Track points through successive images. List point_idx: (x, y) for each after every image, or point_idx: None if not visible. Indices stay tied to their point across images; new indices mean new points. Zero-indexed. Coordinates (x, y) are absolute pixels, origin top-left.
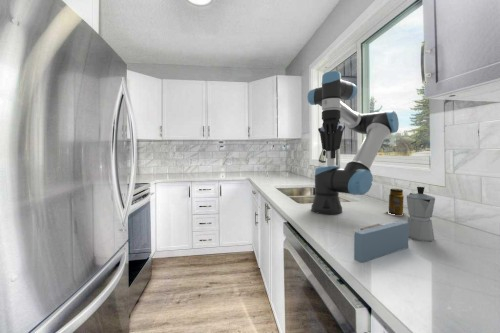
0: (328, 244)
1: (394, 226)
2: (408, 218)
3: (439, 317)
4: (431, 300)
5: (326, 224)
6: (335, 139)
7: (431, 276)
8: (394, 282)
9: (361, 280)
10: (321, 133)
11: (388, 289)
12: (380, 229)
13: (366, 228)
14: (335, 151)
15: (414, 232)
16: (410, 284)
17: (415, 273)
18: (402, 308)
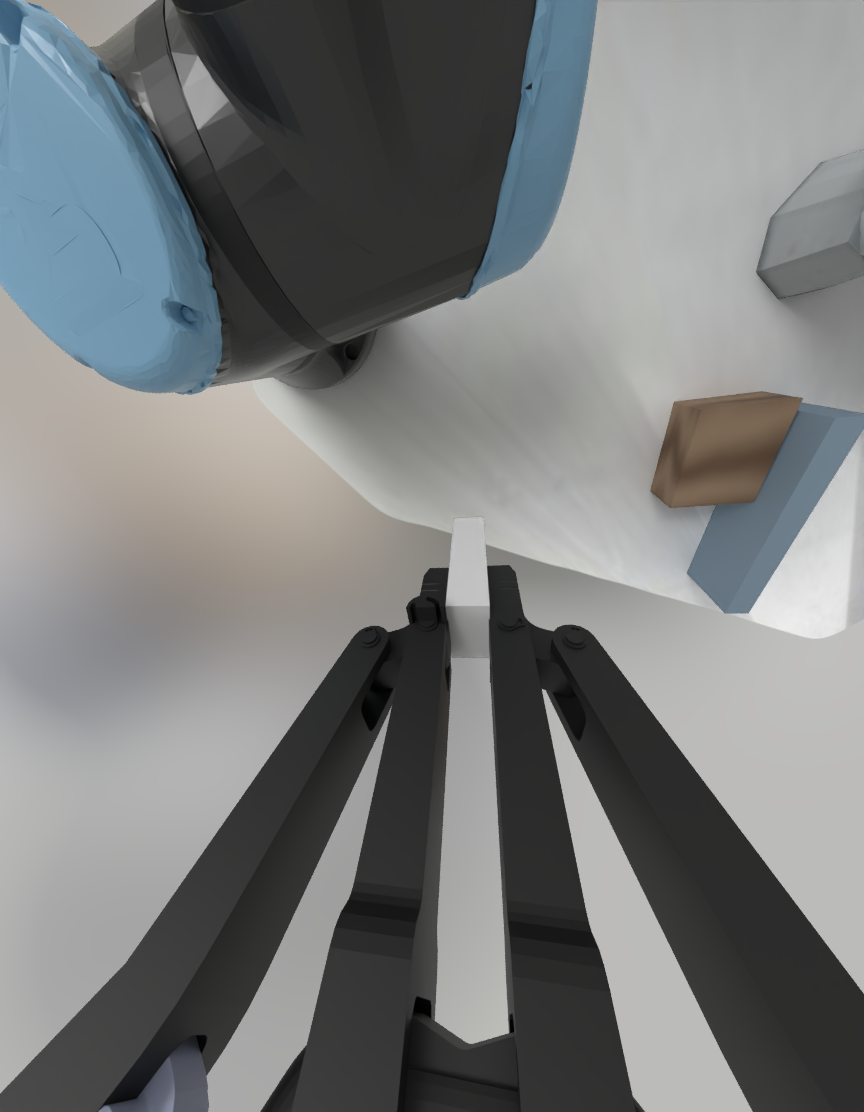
0: (600, 563)
1: (817, 500)
2: (844, 244)
3: (858, 607)
4: (849, 583)
5: (481, 461)
6: (620, 816)
7: (855, 514)
8: (784, 583)
9: (731, 613)
10: (256, 969)
11: (778, 604)
12: (781, 557)
13: (686, 492)
14: (523, 614)
15: (828, 284)
16: (812, 569)
17: (820, 528)
18: (806, 623)
